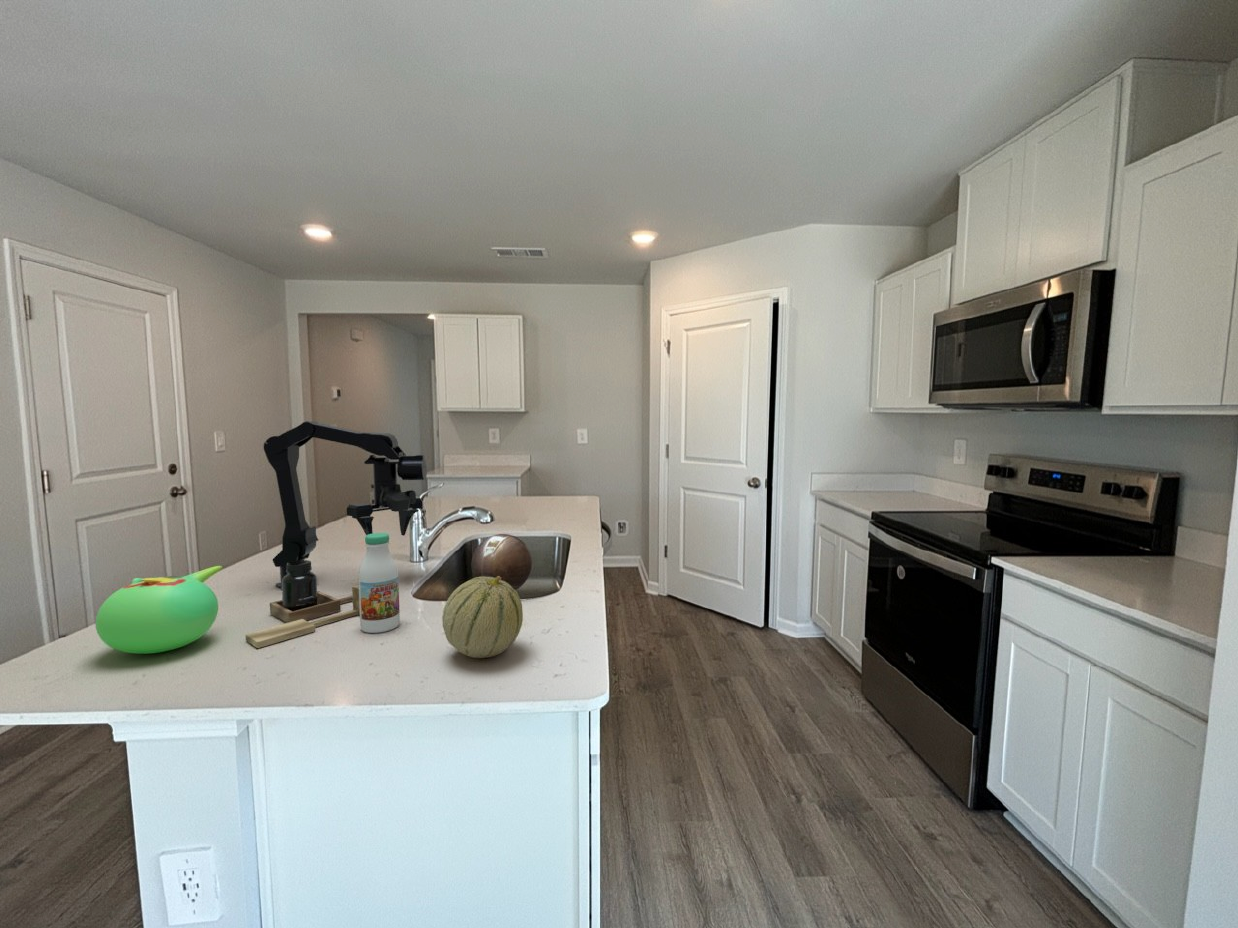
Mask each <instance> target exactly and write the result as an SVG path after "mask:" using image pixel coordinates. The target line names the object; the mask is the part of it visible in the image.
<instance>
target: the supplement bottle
mask: <svg viewBox="0 0 1238 928" xmlns="http://www.w3.org/2000/svg"><path fill="white" fill-rule="evenodd" d="M312 569H313V567H312V561H311V560H308V559H305V560H299V561H293V562H289V563H287V570H286V572H287V573H288V574H287V575H286V576H284V577H283V579H282V588H281V598H282V599H281V600H282V605H283V607H284V608H286V609H288V610H290V611H292V612H293V611H296V610H300V609H304V608H308V607H312V606H316V605H319V603H317V591H318V577H317V575H316V573H314V572H312Z"/></svg>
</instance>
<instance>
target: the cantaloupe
mask: <svg viewBox="0 0 1238 928" xmlns="http://www.w3.org/2000/svg"><path fill="white" fill-rule="evenodd" d="M441 618H442V619H441V621H442V629H443V631H444V632H443V633H444V635H445V638H446V640H447V642H448V644H449V645H451V646H452V648H454V649H455V650H457V651H458V652H459V653H460V654H464V655H465V656H468V657H470V658H474V659H483V658H492V657H495V656H497V655H500V654H501V653H503V652H505V650H506V649H509V647H510V646H512V645H513V643H514V642H515V640H516V639H517V637H518V636H519V634H520V632H521V629H522V625H523V620H524V614H523V604H522V599H521V597H520V596H519V593H518V592H517V590H514V589H513V588H512V587H511V586H510V585H509V584H508V583H506V582H505V581H502V580H501V577H500V576H497V577H496V578H493V577H476V578H474V577H473V578H471V579H469V580H467V581H465V582H464V583H462V584H460V585H459V586H458V587H457V588H456V589H454V590H453V592H452V593H451V594H450V595H449V597H448V598H447V601H446V602H445V604H444V608H443V612H442V616H441Z"/></svg>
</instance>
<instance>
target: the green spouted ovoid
mask: <svg viewBox="0 0 1238 928" xmlns="http://www.w3.org/2000/svg"><path fill="white" fill-rule="evenodd" d="M221 569H223V566H222V565H216V566H215V565H214V566H211V567H207V568H204V569H202V570H199V571H196V572H193V573H190V574H187V575H184V576H175V575H170V576H158V577H145V578H141V577H135V578H132V580H131V583H130V584H128V585H126V586H123V587H121V588H119V589H118V590H116V591H115V592H113V593H112V594H111V595H109V597H108V598H106V599H105V600H104V602H103V603H102V604H101V606H100V608H99V609H98V611H97V614H96V617H95V629H96V633H97V635H98V637H99V638H100V640H101V641H102V642H103V643H104V644H105V645H106V646H108V647H110V648H111V649H114V650H116V651H118V652H119V651H120V652H124V653H129V654H136V655H137V654H138V655H148V654H150V655H151V654H158V653H164V652H168V651H172V650H173V651H174V650H176V649H180V648H182V647H185V646H187V645H189V644H191V643H193V642H195V641H196V640H198V639H200V638H201V637H202V636H204V635H205V634H206V633H207V632H208V631H209V630H210V629H211V627H212V626H213V624H214V622H215V621H216V619H217V617H218V614H219V613H218V612H219V602H218V601H219V600H218V598H217V596H216V594H215V591H213V590H212V588H211V587H209V586H208V585H207V584H205V582H206V581H207V580H209V579H210V578H211V577H213V576H214V575H216V574H217V573H218V572H219V571H221Z"/></svg>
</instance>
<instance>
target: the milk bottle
mask: <svg viewBox="0 0 1238 928" xmlns="http://www.w3.org/2000/svg"><path fill="white" fill-rule="evenodd" d="M364 538H365V539H364V540H365V541H364V542H365V547H366V553H365V556H364V559H363V561H362V563H361V566H360V569H359V572H358V573H359V574H358V585H359V606H360V615H359V623H360V624H359V625H360V630H361V631H362V632H364V633H368V634H369V633H370V634H376V633H377V634H379V633H386V632H389V631H391V630H394V629H396V628H397V627H398V626H399V625H400V622H401V621H400V620H401V619H400V618H401V617H400V616H401V615H400V614H401V613H400V612H401V611H400V591H399V590H400V587H399V586H400V585H399V571H398V567H397V564H396V562H395V560H394V558H393V556H392V555H391V552H390V549H389V544H390V535H389V533H387V532H374V533H373V534H369V535H366V534H365V537H364Z"/></svg>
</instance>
